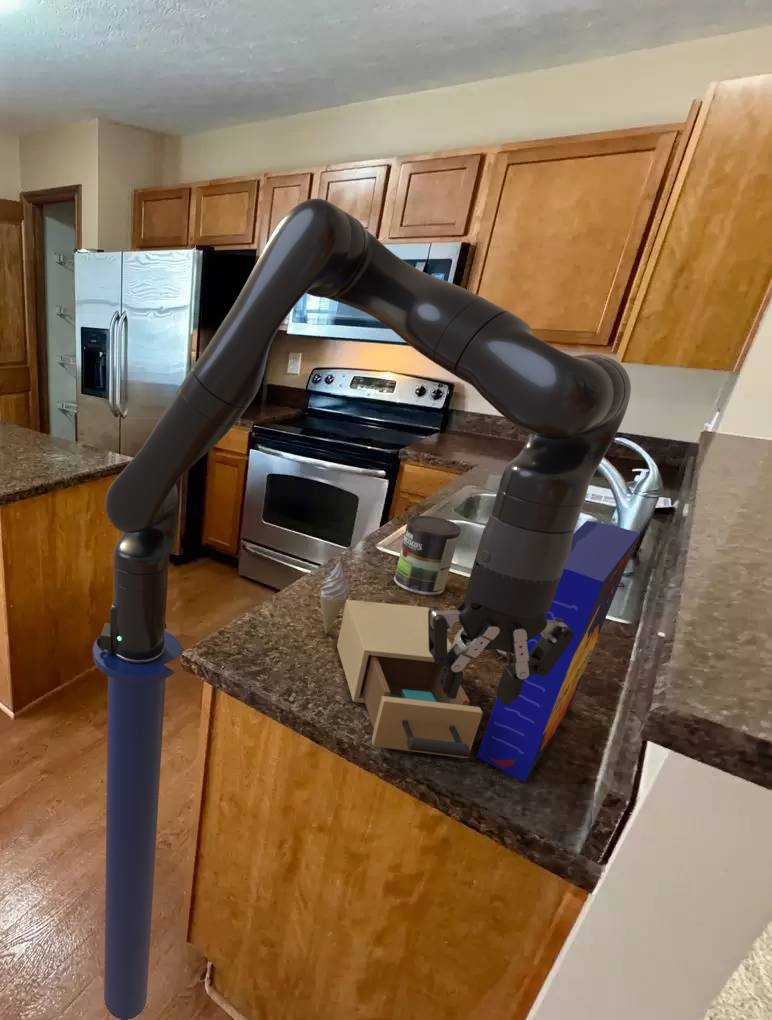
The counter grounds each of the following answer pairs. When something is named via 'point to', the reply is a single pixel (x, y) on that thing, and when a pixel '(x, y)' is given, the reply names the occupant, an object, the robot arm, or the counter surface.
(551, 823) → the counter surface
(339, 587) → the ice cream cone
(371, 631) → the cabinet
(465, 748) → the drawer
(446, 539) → the coffee can
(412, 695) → the toy car
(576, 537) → the cereal box
